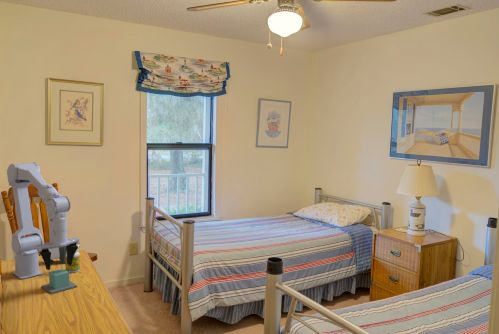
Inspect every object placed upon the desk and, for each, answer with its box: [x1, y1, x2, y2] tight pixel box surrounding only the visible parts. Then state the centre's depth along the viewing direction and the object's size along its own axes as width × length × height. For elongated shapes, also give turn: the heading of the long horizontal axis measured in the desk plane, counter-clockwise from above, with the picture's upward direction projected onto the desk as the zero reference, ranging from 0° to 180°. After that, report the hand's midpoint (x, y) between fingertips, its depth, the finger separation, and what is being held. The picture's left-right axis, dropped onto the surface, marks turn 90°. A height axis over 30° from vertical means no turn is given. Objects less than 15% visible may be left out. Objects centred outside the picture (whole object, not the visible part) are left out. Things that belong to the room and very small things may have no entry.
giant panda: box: [49, 244, 81, 265], centre depth 171 cm, size 15×6×10 cm, turn 105°
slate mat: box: [41, 280, 78, 295], centre depth 145 cm, size 9×9×1 cm
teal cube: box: [48, 268, 70, 289], centre depth 144 cm, size 5×5×5 cm
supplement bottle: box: [65, 249, 81, 274], centre depth 161 cm, size 5×5×10 cm
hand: (58, 266), depth 144 cm, fingers open, 7 cm apart
